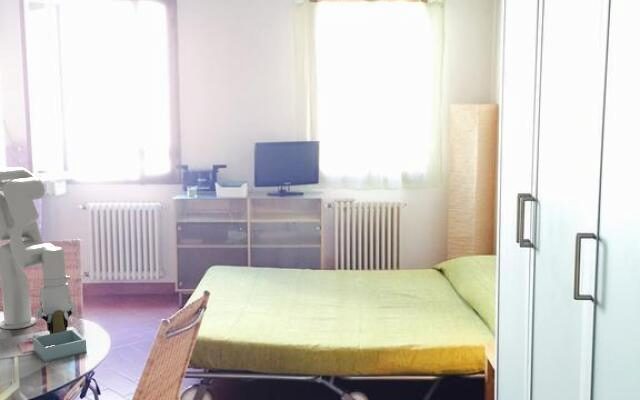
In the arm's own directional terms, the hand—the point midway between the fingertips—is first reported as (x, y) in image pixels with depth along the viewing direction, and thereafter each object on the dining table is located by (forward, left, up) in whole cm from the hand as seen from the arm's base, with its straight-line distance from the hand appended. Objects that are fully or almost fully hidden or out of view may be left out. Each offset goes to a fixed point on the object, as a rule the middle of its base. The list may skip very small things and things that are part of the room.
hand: (57, 330), depth 241 cm
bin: (+15, -4, -2) cm, 16 cm away
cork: (0, 0, -2) cm, 2 cm away
